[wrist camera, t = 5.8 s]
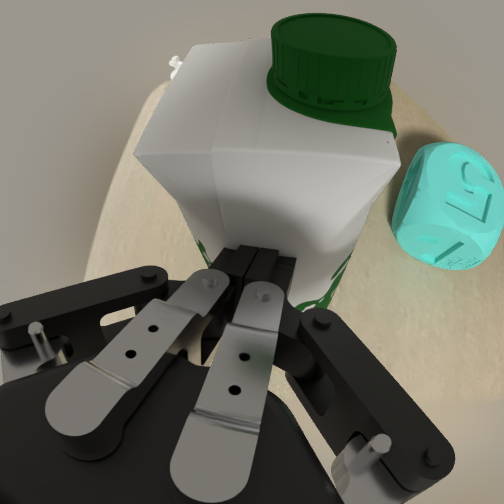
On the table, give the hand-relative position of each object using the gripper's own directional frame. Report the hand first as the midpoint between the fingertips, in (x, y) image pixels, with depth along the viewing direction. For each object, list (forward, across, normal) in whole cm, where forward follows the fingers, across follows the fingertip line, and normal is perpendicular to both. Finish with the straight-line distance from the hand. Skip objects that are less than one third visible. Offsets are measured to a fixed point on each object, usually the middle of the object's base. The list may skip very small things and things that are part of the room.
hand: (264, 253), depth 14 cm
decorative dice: (+16, -13, +2) cm, 21 cm away
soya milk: (+10, 0, +8) cm, 13 cm away
